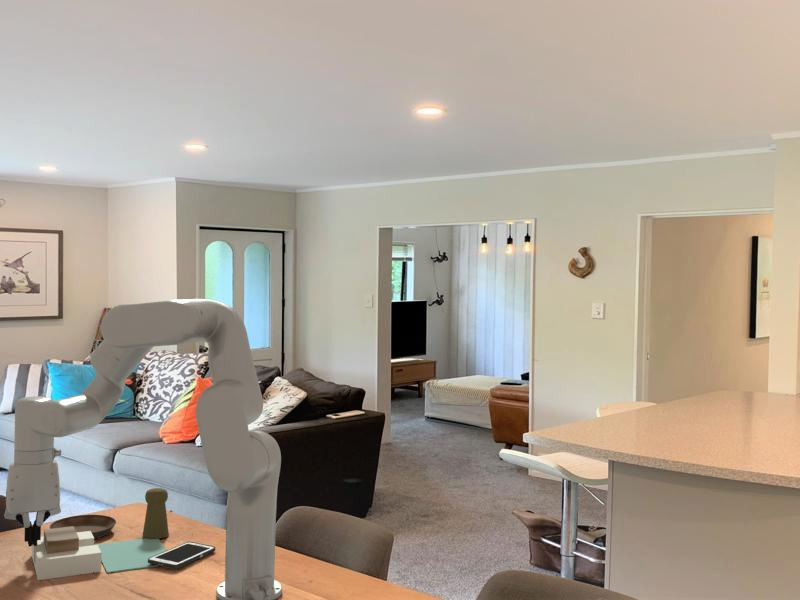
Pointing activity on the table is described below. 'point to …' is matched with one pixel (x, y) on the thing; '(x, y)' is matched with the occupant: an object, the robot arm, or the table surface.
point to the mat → (129, 554)
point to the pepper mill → (156, 514)
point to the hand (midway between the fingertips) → (32, 544)
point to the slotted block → (67, 559)
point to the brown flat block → (61, 540)
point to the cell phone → (181, 555)
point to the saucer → (87, 524)
